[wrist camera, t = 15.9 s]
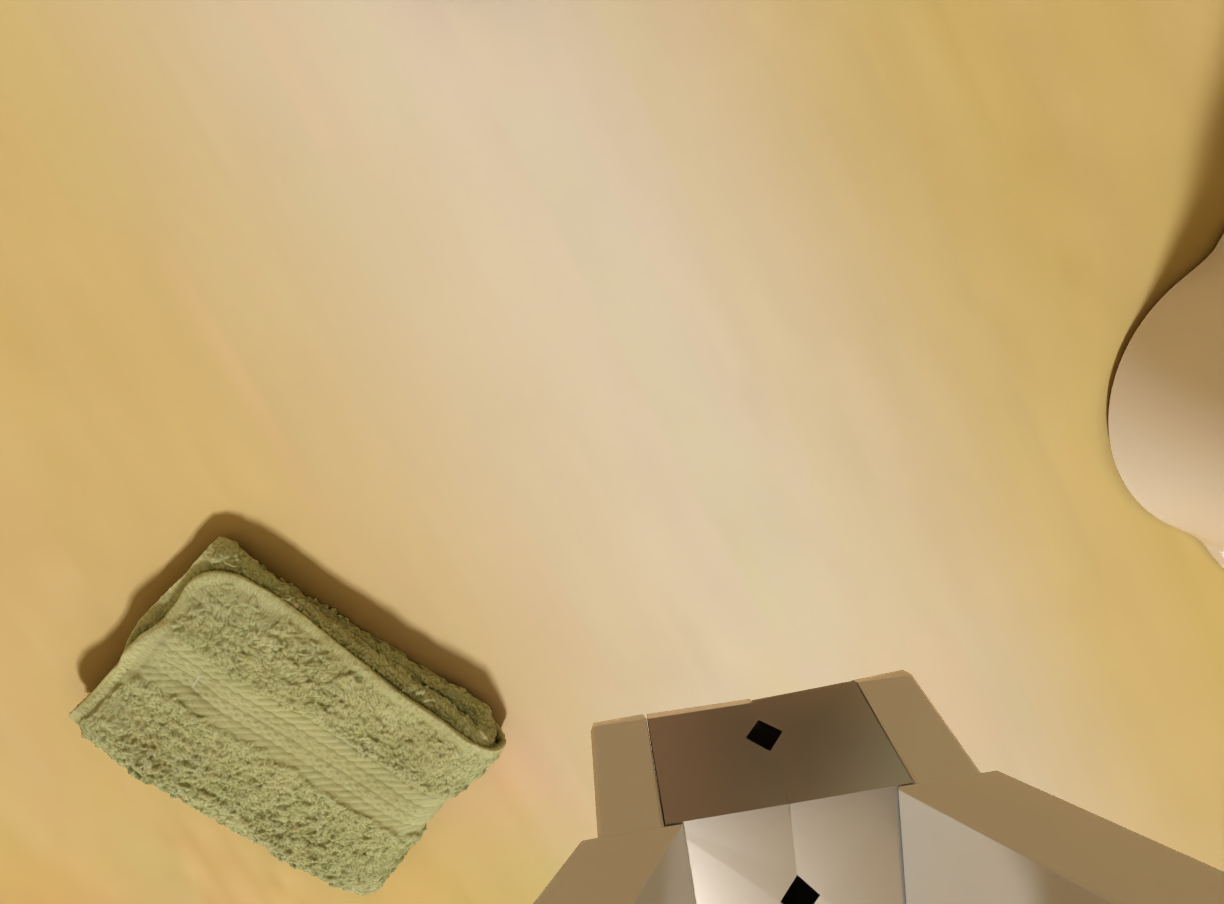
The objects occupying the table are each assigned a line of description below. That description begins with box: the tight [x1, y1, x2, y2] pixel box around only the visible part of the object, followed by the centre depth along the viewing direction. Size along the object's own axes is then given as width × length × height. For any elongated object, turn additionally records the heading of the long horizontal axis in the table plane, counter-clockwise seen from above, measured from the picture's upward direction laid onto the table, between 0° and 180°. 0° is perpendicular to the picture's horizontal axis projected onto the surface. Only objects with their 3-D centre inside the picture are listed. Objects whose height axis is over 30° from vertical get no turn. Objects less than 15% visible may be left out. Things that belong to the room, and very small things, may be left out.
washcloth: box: [69, 536, 506, 895], centre depth 46 cm, size 13×18×3 cm
